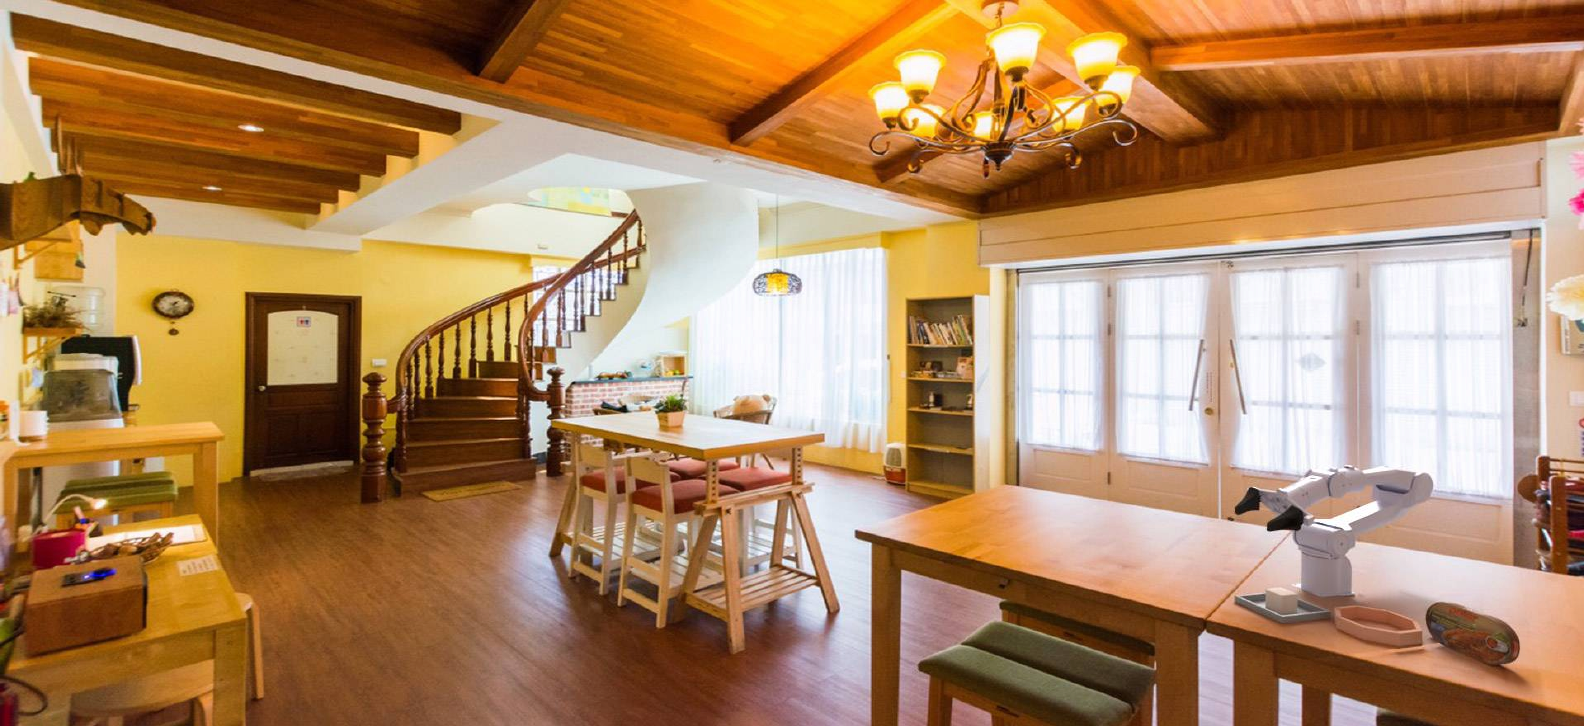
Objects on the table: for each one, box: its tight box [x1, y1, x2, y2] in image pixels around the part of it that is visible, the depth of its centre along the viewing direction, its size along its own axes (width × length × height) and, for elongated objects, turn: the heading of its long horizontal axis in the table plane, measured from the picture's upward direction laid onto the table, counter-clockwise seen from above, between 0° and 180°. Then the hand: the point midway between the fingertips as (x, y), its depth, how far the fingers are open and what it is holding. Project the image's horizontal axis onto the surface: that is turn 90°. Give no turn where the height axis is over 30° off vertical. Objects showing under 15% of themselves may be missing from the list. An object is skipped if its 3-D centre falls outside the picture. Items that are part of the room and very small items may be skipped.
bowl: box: [1333, 604, 1423, 650], centre depth 140 cm, size 13×13×3 cm
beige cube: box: [1265, 586, 1299, 614], centre depth 151 cm, size 4×4×4 cm
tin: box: [1425, 601, 1521, 666], centre depth 131 cm, size 15×3×8 cm, turn 5°
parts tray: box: [1234, 591, 1332, 625], centre depth 151 cm, size 12×12×2 cm
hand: (1251, 518), depth 156 cm, fingers open, 7 cm apart
